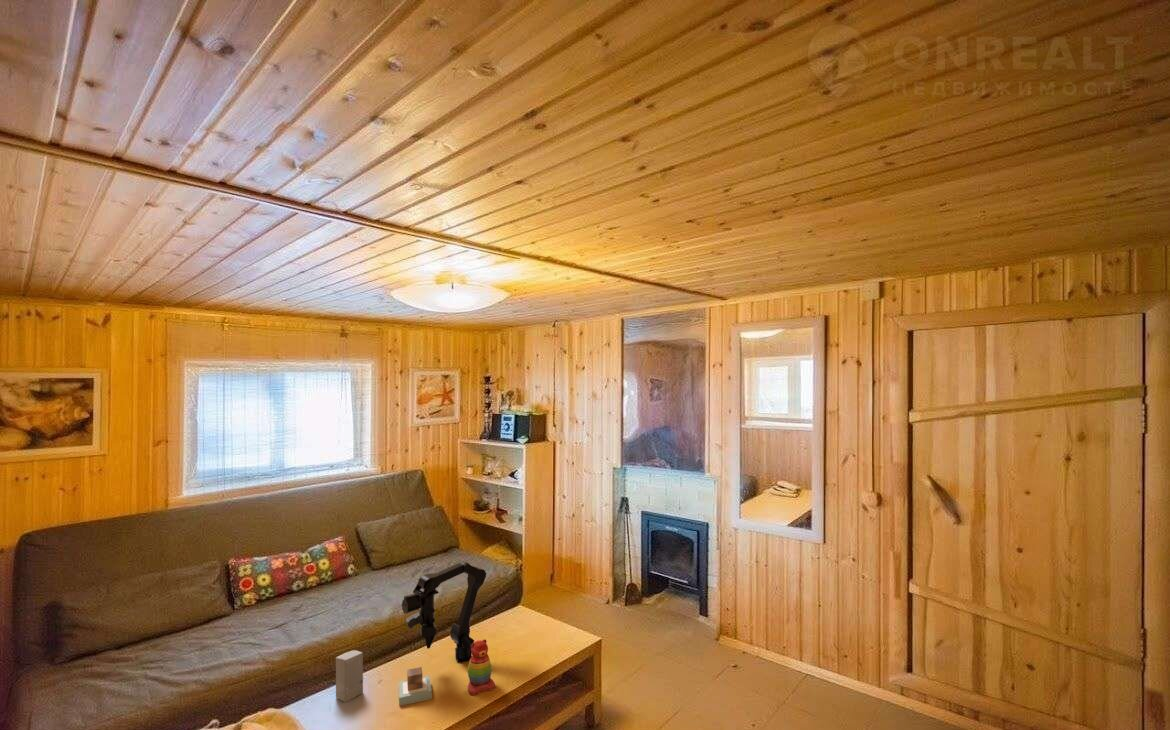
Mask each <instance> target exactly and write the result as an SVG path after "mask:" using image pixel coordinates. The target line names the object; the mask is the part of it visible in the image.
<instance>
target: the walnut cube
mask: <svg viewBox="0 0 1170 730" xmlns="http://www.w3.org/2000/svg"><path fill="white" fill-rule="evenodd" d="M422 667H423V666H418V667H415V668H414V667H413V668H409V669H407V670H406V674H407V676H406V677H407V679H406V680H407V685H408V691H410V690H415V689H420V688H423V680H422V677H423V668H422Z"/></svg>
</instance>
